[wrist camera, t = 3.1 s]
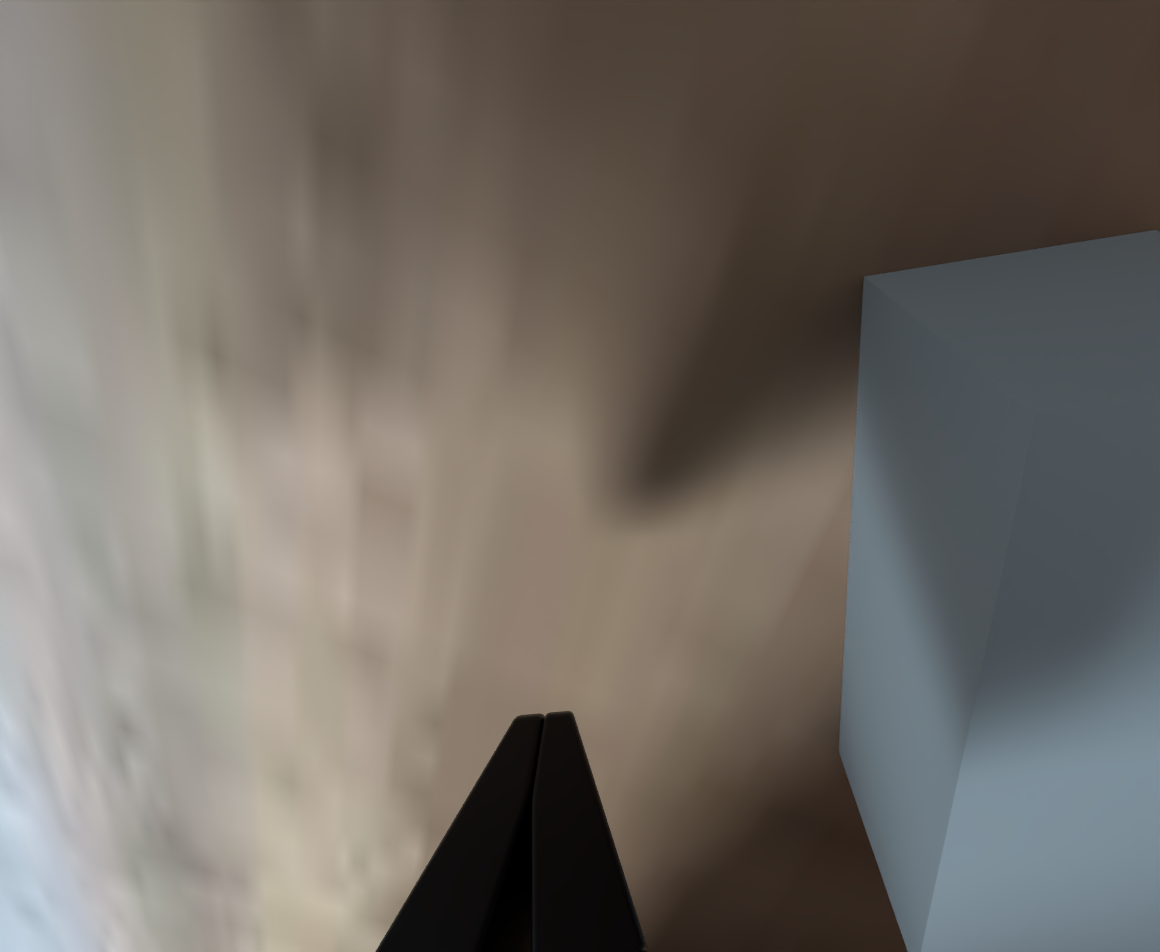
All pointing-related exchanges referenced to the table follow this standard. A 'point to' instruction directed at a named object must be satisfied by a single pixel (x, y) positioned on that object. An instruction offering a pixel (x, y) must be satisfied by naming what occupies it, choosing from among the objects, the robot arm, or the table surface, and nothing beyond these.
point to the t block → (1010, 598)
